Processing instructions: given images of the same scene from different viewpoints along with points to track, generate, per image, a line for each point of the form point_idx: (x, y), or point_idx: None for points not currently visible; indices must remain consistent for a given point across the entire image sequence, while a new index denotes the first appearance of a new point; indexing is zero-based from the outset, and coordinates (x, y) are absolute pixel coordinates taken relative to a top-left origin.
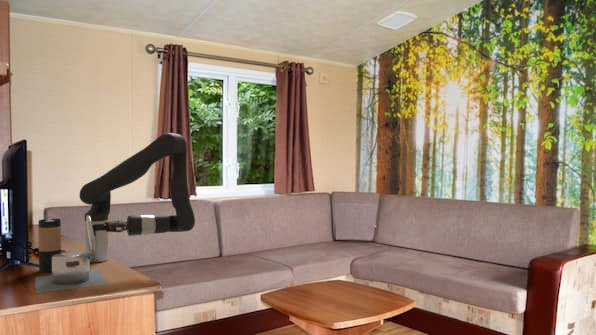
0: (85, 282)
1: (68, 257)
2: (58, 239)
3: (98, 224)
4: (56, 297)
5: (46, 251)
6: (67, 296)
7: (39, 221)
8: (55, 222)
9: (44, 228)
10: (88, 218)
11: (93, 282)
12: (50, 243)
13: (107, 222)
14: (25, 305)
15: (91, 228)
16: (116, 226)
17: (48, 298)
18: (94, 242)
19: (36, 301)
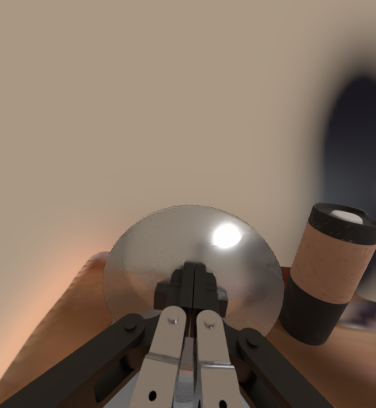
0: (137, 376)
1: None
2: (321, 271)
3: (192, 286)
4: (84, 300)
5: (290, 273)
6: (70, 316)
7: (320, 203)
8: (328, 220)
9: (307, 222)
10: (157, 211)
11: (118, 401)
12: (298, 263)
13: (273, 364)
14: (88, 264)
15: (112, 249)
16: (14, 402)
17: (92, 289)
18: (109, 310)
19: (93, 275)
